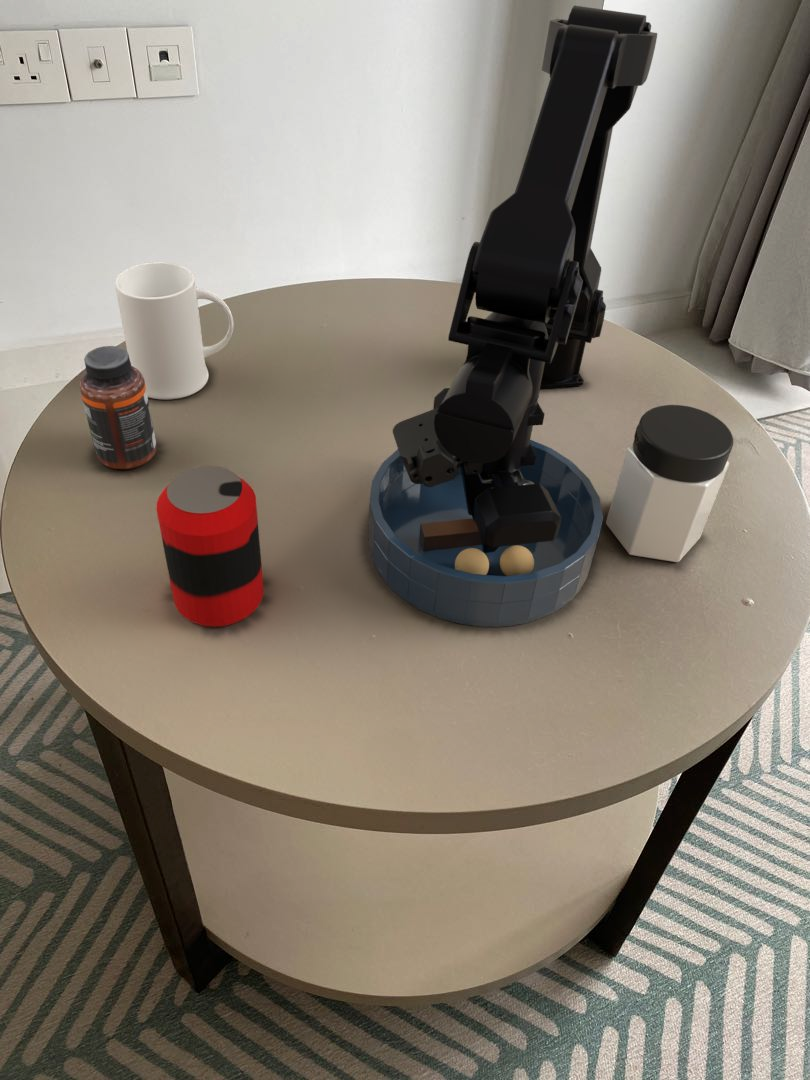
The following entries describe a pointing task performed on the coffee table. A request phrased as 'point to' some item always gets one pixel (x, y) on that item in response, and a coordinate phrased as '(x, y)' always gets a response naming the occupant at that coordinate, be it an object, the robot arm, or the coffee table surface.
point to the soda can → (211, 545)
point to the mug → (166, 327)
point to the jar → (669, 481)
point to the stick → (449, 534)
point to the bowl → (477, 596)
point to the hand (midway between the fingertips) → (480, 532)
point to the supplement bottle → (117, 409)
